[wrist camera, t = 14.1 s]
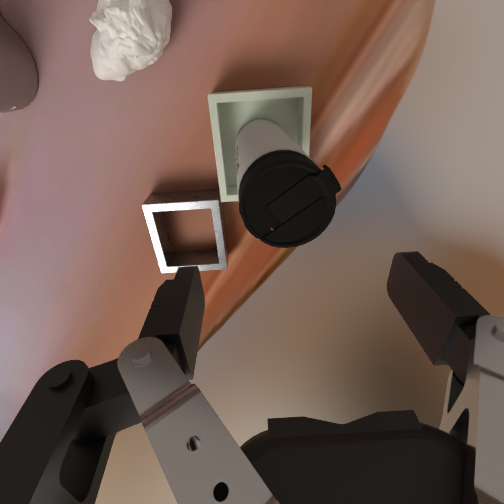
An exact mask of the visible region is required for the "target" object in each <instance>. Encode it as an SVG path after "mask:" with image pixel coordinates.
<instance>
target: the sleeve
mask: <svg viewBox="0 0 504 504" xmlns="http://www.w3.org/2000/svg"><path fill="white" fill-rule="evenodd" d="M142 208H143V211H144V215H145V218H146V222H147V225H148V229H149V232H150V235H151V239H152V242H153V246H154V249H155V253H156V256H157V260H158V263H159V267H160V270H161V273H172V272H177V270H178V267H184V266H198V268H199V271H204V270H220V269H227V266H228V255H229V253H228V245H227V237H226V229H225V221H224V213H223V205H222V202H221V197H220V189H215V190H199V191H184V192H169V193H154V194H150V195H149V197H148V198H147V199H146V200H145V202H144V203H143V204H142ZM205 208H211V210H212V216H213V223H214V230H215V237H216V243H217V249H216V250H200V251H184V252H173V251H172V247H171V243H170V239H169V235H168V231H167V227H166V223H165V219H164V215H163V211H174V210H189V209H205Z"/></svg>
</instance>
